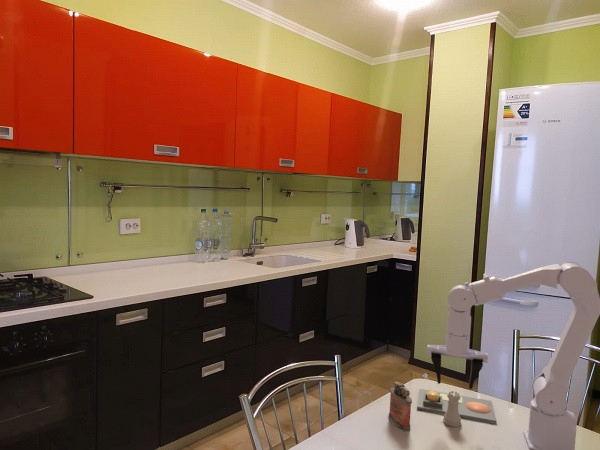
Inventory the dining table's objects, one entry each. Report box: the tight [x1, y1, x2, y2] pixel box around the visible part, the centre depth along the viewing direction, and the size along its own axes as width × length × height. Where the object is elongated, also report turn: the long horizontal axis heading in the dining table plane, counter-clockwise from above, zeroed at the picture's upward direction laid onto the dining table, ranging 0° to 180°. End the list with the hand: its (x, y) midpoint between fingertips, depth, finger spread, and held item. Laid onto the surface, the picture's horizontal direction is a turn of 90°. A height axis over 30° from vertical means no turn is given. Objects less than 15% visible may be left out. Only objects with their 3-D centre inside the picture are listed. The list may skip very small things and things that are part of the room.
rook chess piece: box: [442, 390, 462, 428], centre depth 113 cm, size 4×4×8 cm
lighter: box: [388, 381, 413, 432], centre depth 112 cm, size 8×3×10 cm, turn 17°
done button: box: [427, 390, 439, 402], centre depth 122 cm, size 3×3×2 cm
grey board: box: [416, 388, 497, 425], centre depth 123 cm, size 20×12×2 cm, turn 72°
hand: (454, 384), depth 113 cm, fingers open, 7 cm apart
